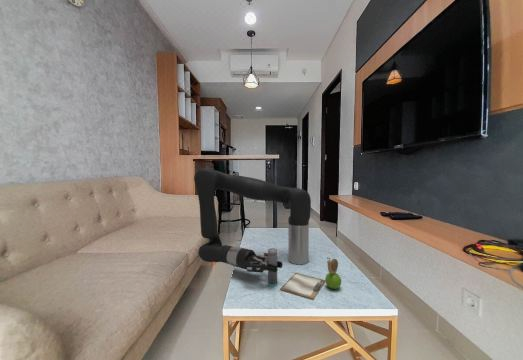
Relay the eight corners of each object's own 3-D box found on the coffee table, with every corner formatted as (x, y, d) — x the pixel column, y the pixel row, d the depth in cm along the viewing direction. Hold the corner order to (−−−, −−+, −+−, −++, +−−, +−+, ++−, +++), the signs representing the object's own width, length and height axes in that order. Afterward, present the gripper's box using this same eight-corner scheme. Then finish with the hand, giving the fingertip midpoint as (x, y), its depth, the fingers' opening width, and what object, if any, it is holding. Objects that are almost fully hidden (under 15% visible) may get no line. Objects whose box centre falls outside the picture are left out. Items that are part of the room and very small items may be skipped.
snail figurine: (320, 289, 80) (321, 255, 79) (330, 282, 84) (330, 250, 84) (335, 295, 76) (335, 260, 75) (343, 287, 80) (344, 254, 80)
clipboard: (295, 273, 91) (295, 270, 91) (325, 281, 85) (325, 278, 85) (279, 290, 79) (279, 286, 79) (313, 300, 73) (313, 296, 73)
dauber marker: (270, 281, 85) (270, 247, 85) (278, 283, 84) (278, 249, 83) (266, 285, 83) (266, 250, 82) (274, 287, 81) (274, 252, 80)
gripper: (229, 254, 84) (270, 264, 75) (250, 243, 96) (287, 250, 87) (229, 273, 84) (270, 286, 75) (251, 260, 96) (287, 269, 87)
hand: (279, 267), depth 81 cm, fingers closed on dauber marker, 3 cm apart
